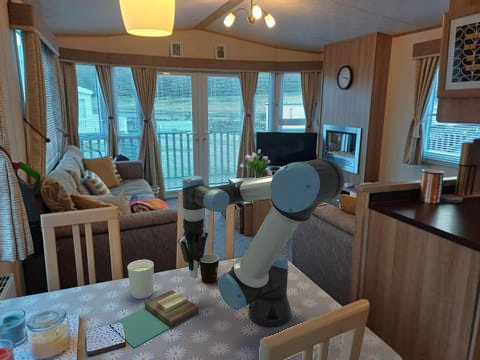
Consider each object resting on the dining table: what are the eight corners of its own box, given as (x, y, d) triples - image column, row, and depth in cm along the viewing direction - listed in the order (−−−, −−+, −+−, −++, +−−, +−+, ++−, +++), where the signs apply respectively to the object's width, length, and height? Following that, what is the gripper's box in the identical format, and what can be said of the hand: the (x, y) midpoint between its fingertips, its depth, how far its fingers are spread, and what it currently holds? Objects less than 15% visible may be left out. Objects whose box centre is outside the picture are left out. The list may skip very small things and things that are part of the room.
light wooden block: (187, 302, 123) (187, 298, 123) (166, 312, 117) (166, 308, 116) (177, 295, 127) (177, 292, 127) (156, 305, 121) (156, 301, 120)
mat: (169, 328, 112) (169, 327, 112) (134, 348, 103) (134, 347, 103) (143, 309, 123) (143, 308, 123) (109, 325, 113) (109, 324, 113)
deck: (198, 312, 121) (198, 306, 120) (170, 327, 112) (170, 321, 112) (171, 295, 132) (171, 289, 131) (144, 308, 123) (144, 302, 123)
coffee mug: (209, 287, 138) (209, 264, 136) (194, 280, 143) (194, 258, 141) (227, 276, 147) (227, 255, 145) (213, 270, 152) (212, 249, 150)
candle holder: (141, 302, 127) (139, 273, 124) (123, 295, 132) (121, 266, 129) (160, 291, 135) (159, 263, 132) (143, 284, 140) (141, 257, 137)
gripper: (200, 212, 130) (200, 268, 136) (172, 219, 121) (173, 279, 126) (213, 216, 125) (213, 274, 131) (185, 225, 116) (186, 287, 121)
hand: (193, 276), depth 128 cm, fingers closed
